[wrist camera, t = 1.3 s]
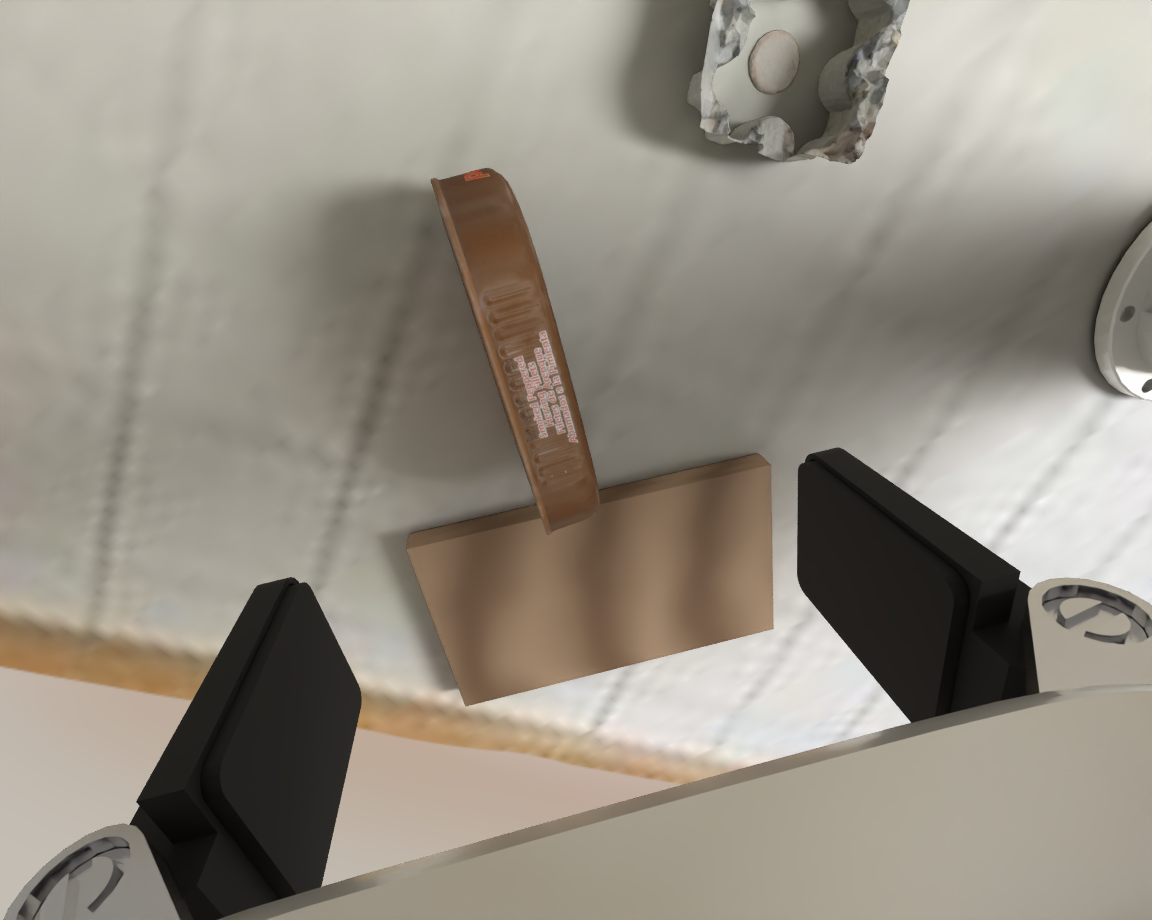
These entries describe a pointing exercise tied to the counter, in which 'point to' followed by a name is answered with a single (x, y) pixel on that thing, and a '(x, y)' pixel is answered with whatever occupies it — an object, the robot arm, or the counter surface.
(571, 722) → the counter surface
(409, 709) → the counter surface
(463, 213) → the tin
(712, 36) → the egg carton
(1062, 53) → the counter surface
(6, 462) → the counter surface
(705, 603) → the walnut board
